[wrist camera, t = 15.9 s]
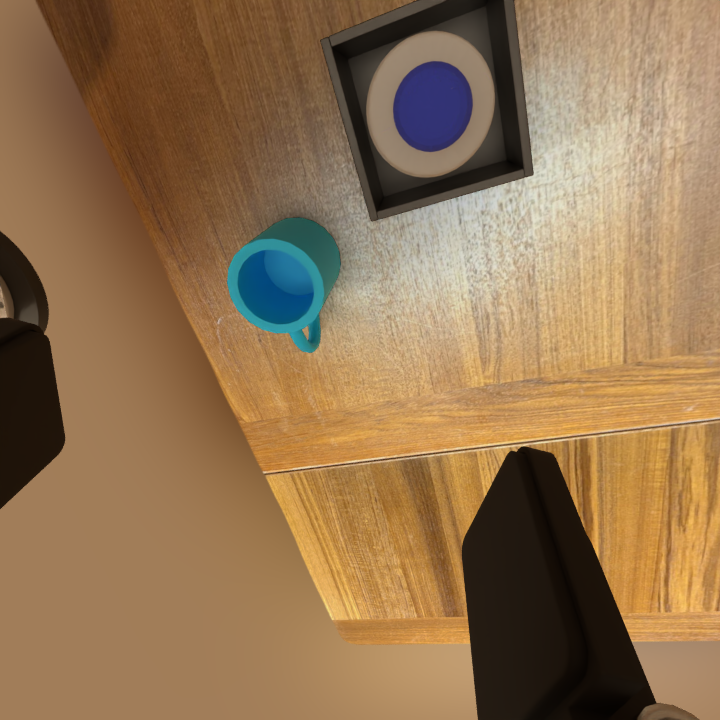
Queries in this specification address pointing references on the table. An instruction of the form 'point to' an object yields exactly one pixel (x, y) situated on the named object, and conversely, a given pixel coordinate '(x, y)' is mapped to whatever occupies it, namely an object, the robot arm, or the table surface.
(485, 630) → the robot arm
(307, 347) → the mug
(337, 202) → the table surface
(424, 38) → the bottle
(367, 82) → the bin
